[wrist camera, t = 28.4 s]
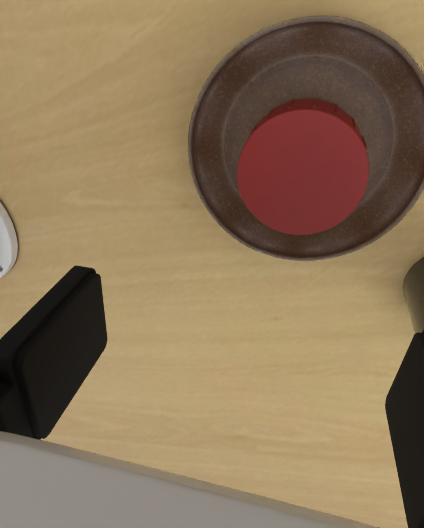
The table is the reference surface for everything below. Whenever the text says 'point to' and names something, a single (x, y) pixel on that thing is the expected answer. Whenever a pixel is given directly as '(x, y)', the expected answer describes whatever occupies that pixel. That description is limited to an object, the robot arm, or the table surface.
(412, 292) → the thermos
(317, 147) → the lid
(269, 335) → the table surface
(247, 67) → the saucer
